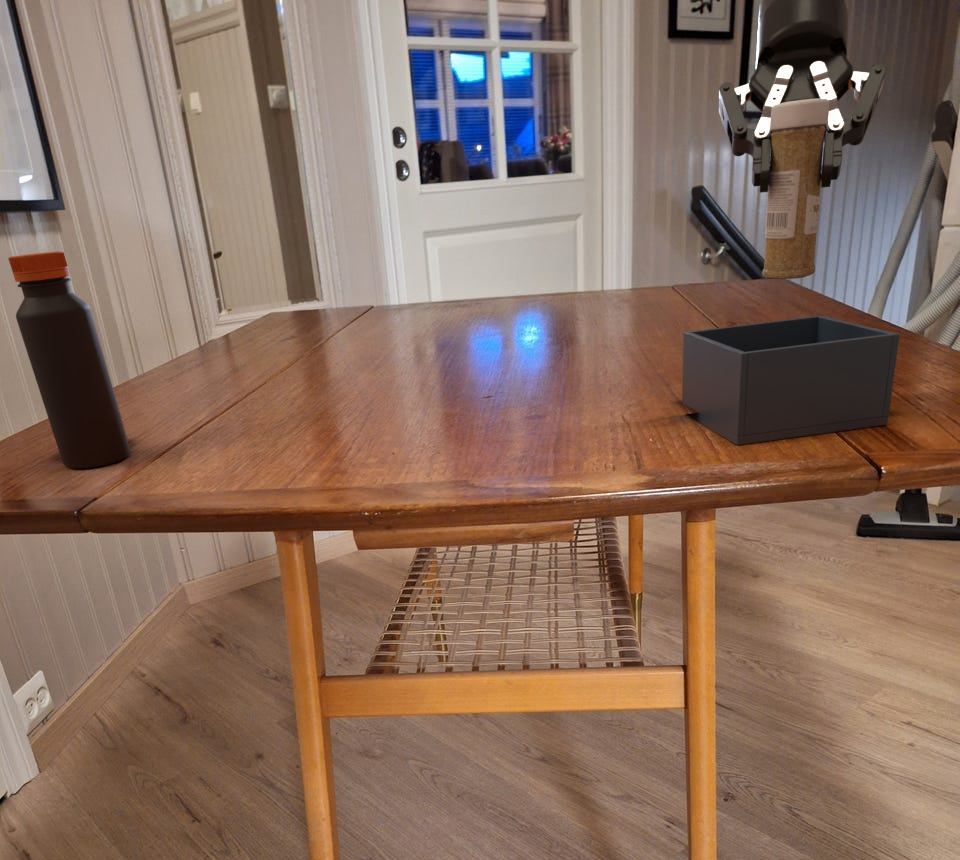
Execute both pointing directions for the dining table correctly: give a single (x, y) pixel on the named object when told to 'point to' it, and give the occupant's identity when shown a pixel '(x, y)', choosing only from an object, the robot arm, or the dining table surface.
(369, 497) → the dining table surface
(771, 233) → the sprinkles bottle
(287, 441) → the dining table surface
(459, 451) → the dining table surface
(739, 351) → the open storage bin
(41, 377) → the vinegar
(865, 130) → the robot arm
